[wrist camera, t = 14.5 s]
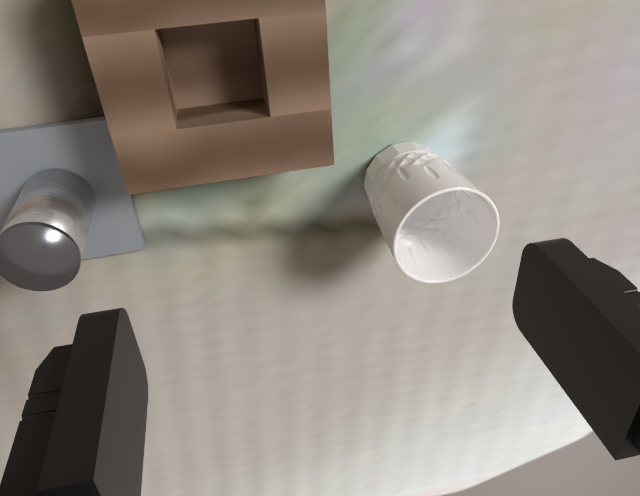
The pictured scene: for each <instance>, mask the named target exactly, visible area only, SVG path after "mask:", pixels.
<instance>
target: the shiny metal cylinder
mask: <svg viewBox="0 0 640 496" xmlns="http://www.w3.org/2000/svg"><path fill="white" fill-rule="evenodd" d="M95 207H96V196H95V193H94V191H93V189H92V187H91V186H90V184H89V183H88V182H87V181H86V180H85V179H84V178H83V177H81V176H80V175H78V174H76V173H74V172H72V171H69V170H66V169H60V168H49V169H44V170H41V171H39V172H36V173H35V174H33V175H32V176H31V177H30V178H29V179H28V180H27V182H26V183H25V185H24V187H23V189H22V191H21V193H20V195H19V197H18V199H17V201H16V203H15V204H14V206H13V208H12V210H11V212H10V214H9V216H8V218H7V220H6V222H5V224H4V226H3V228H2V230H1V232H0V274H1V275H2V276H3V277H4V278H5V279H6V280H8V281H9V282H11V283H12V284H14V285H16V286H18V287H21V288H24V289H28V290H33V291H50V290H55V289H58V288H61V287H63V286H65V285H67V284H68V283H69V282H71V281H72V280H73V279H74V278H75V276H76V275H77V273H78V271H79V268H80V264H81V260H82V256H83V252H84V249H85V245H86V241H87V237H88V234H89V230H90V226H91V222H92V218H93V215H94V211H95Z"/></svg>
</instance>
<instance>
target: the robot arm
mask: <svg viewBox="0 0 640 496" xmlns="http://www.w3.org/2000/svg"><path fill="white" fill-rule="evenodd" d="M513 314H514V318H515V321H516V324H517V326H518V328H519V330H520V331H521V333H522V334H523V335H524V337H525V338H526V339H527V341H528V342H529V343H530V345H531V346H532V348H533V349H534V350H535V352H536V353H537V354H538V356H539V357H540V358H541V360H542V361H543V363H544V364H545V365H546V367H547V368H548V369H549V371H550V372H551V373H552V375H553V376H554V378H555V379H556V380H557V382H558V383H559V384H560V386H561V387H562V388H563V390H564V391H565V392H566V394H567V395H568V397H569V398H570V399H571V401H572V402H573V403H574V405H575V406H576V407H577V409H578V410H579V412H580V413H581V414H582V416H583V417H584V418H585V420H586V421H587V422H588V424H589V425H590V427H591V428H592V429H593V431H594V432H595V433H596V435H597V436H598V437H599V439H600V440H601V441H602V443H603V444H604V446H605V447H606V448H607V450H608V451H609V452H610V454H611V455H612V456H613V458H614V459H615V460H619V459H624V458H628V457H633V456H637V455H640V292H638V290H637V287H636V286H635V285H633V284H632V283H631V282H630V281H629V280H628V279H627V278H626V277H625V276H624V275H622V274H621V273H620V272H619V271H618V270H616V269H614V268H612V267H610V266H608V265H606V264H604V263H602V262H600V261H598V260H596V259H595V258H590V259H589V258H588V257H587V256H586V255H585V254H584V253H583V252H581V251H580V250H579V249H578V248H577V247H576V246H575V245H574V244H573V243H572V242H571V241H570V240H568V239H565V238H560V239H554V240H548V241H542V242H535V243H529V244H527V245H526V246H525V248H524V250H523V252H522V257H521V262H520V267H519V272H518V277H517V282H516V287H515V292H514V297H513ZM28 397H29V399H28V400H26V403H25V406H24V410H23V413H22V421H20V423H19V426H18V429H17V432H16V436H15V439H14V442H13V445H12V449H11V452H10V455H9V458H8V462H7V465H6V468H5V471H4V475H3V478H2V481H1V484H0V496H141V483H142V470H143V457H144V444H145V431H146V418H147V404H148V382H147V375H146V370H145V365H144V362H143V359H142V356H141V353H140V350H139V347H138V344H137V341H136V338H135V335H134V332H133V329H132V326H131V323H130V320H129V317H128V314H127V312H126V310H125V309H124V308H119V309H112V310H106V311H100V312H94V313H88V314H82V315H81V316H80V318H79V321H78V324H77V329H76V333H75V337H74V341H73V344H70V345H64V346H58V347H54V348H53V349H52V351H51V352H50V353H49V354H48V356H47V357H46V358H45V359H44V361H43V362H42V363H41V364H40V366H39V367H38V368H37V369H36V371H35V374H34V377H33V380H32V384H31V387H30V390H29V393H28Z"/></svg>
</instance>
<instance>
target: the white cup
mask: <svg viewBox="0 0 640 496" xmlns="http://www.w3.org/2000/svg"><path fill="white" fill-rule="evenodd" d="M364 189H365V192H366V195H367V198H368V201H369V203H370V205H371V207H372V212H373V214H374V216H375V219H376V221H377V223H378V225H379V227H380V230H381V232H382V235H383V237H384V239H385V241H386V243H387V245H388V247H389V249H390V251H391V253H392V255H393V257H394V259H395V261H396V263H397V265H398V267H399V268H400V270H401V271H402V272H403V273H404V274H405V275H407V276H408V277H410V278H411V279H413V280H416V281H419V282H423V283H444V282H448V281H452V280H455V279H457V278H459V277H462V276H464V275H465V274H467V273H469V272H470V271H472V270H473V269H474V268H476V267H477V266H478V265H479V264H480V263H481V262H482V261H483V260H484V259H485V258H486V257H487V255H488V254H489V253H490V251H491V250H492V248H493V246H494V244H495V242H496V239H497V236H498V232H499V215H498V211H497V209H496V207H495V205H494V203H493V202H492V201H491V200H490V199H489V198H488V197H487V196H486V195H485V194H484V193H483V192H482V191H480V190H479V189H478V188H477V187H476V186H475V185H474V184H472V183H471V182H470V181H469V180H468V179H467V178H466V177H464V176H463V175H462V174H461V173H460V172H459V171H457V170H456V169H455V168H454V167H452V166H451V165H450V164H449V163H447V162H446V161H445V160H444V159H442V158H440V157H438V156H437V155H436V154H434V153H433V152H432V151H431V150H430V149H429V148H428V147H427V146H425V145H422V144H418V143H414V142H411V141H407V142H402V143H397V144H392V145H390V146H389V147H387V148H386V149H384V150H383V151H381V152H380V153H378V154H377V155H376V156H375V158H374V159H373V161H372V162H371V164H370V165H369V167H368V168H367V170H366V175H365V181H364Z"/></svg>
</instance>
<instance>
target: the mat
mask: <svg viewBox="0 0 640 496" xmlns="http://www.w3.org/2000/svg"><path fill="white" fill-rule="evenodd" d="M49 168H60V169H66V170H69V171H72V172H74V173H76V174H78V175H80V176H81V177H83V178H84V179H85V180H86V181H87V182H88V183H89V184H90V186H91V187H92V189H93V191H94V193H95V196H96V207H95V211H94V215H93V218H92V222H91V226H90V230H89V234H88V237H87V241H86V245H85V249H84V252H83V256H82V260H83V259H89V258H95V257H101V256H108V255H114V254H120V253H126V252H133V251H139V250H145V246H146V244H145V240H144V237H143V233H142V230H141V226H140V223H139V220H138V216H137V213H136V209H135V206H134V202H133V199H132V195H128V193H127V190H126V186H125V183H124V179H123V176H122V173H121V169H120V166H119V162H118V159H117V156H116V152H115V149H114V145H113V142H112V138H111V135H110V132H109V128H108V125H107V121H106V118H105V116H104V117H96V118H88V119H80V120H72V121H64V122H57V123H49V124H41V125H33V126H25V127H17V128H10V129H2V130H0V232H1V230H2V228H3V226H4V224H5V222H6V220H7V218H8V216H9V214H10V212H11V210H12V208H13V206H14V204H15V203H16V201H17V199H18V197H19V195H20V193H21V191H22V189H23V187H24V185H25V183H26V182H27V180H28V179H29V178H30V177H31V176H32V175H33V174H35V173H36V172H39V171H41V170H44V169H49Z"/></svg>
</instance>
